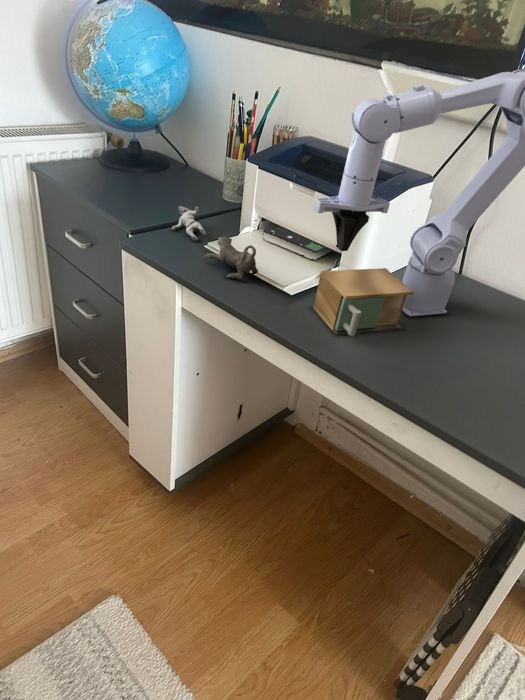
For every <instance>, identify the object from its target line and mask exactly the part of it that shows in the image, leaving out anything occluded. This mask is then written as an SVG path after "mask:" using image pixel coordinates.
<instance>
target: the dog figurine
mask: <svg viewBox="0 0 525 700" xmlns="http://www.w3.org/2000/svg"><path fill="white" fill-rule="evenodd" d="M217 238H218V240H217V241H216V244H217V245H219V253H216V252H215V253H214V252H207V253H206V254H205V255H203V257H204V258H205V259H215V260H217V261H218V262H220V263H224V264H226V265H228V266H229V267H231V268H232V269H233V270H235V269H236V271H237V272H230V273H228V274H227V275H226V276H225V277H226V278H227V279H238V280H241V279H242V278H243V277H244V274H246V275H249V274H250V276H251V277H253V278H255V277H256V276H257V274H258V273H259V270H258V268H257V265H256V264H257V262H256V258H255V257H256V255H257V249H256V247H255V246H254V245H251V244H250V245H246V247H244V249H243V251H239V250H237V248H235V247H234V246H233V245H232V240H233V239H232V238H231V237H229V236H219V237H217ZM249 249H251V250H252V252H251V253H250V252H248V250H249ZM250 272H252V273H250ZM256 273H257V274H256ZM254 274H256V275H254Z"/></svg>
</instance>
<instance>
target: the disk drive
mask: <svg viewBox="0 0 525 700" xmlns="http://www.w3.org/2000/svg"><path fill="white" fill-rule="evenodd" d="M272 228H273V227H267V228H264V229H263V231H262V233H263V232H265V233H267V234H270V235H273V236H276V237H278V238H280V239H283V240H285V241H287V242H290V243H292V244H295V245H297V246H300V247H302V248H304V249H307V250H310V251H312V252H314V253H317V252H319V251H322V250H324V249H325V248H324V247H322V246H320V245H317V244H314V243H313V242H311V241H309V240H307V239H304V238H302V237H300V236H298V235H296V234H294V233H291V232H289V231H288V230H285V229H283V228H280V227H277V228H275V229H272Z"/></svg>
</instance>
